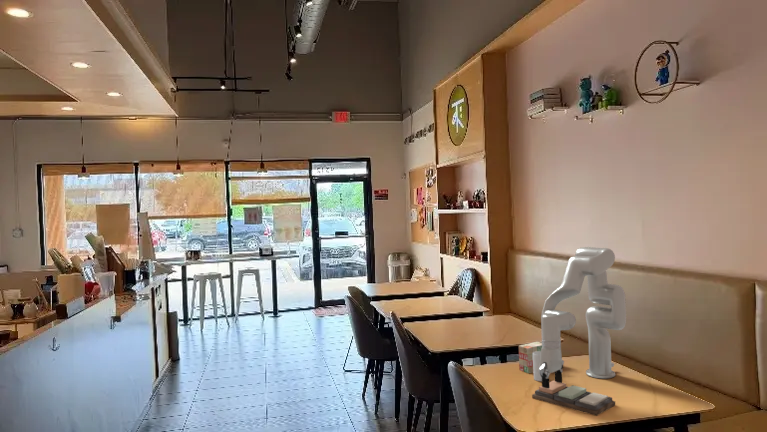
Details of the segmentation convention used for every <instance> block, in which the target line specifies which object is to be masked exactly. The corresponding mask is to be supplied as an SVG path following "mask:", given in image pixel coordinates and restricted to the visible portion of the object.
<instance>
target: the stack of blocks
mask: <svg viewBox="0 0 767 432" xmlns="http://www.w3.org/2000/svg"><path fill="white" fill-rule="evenodd" d="M541 348H542V341H541V342H539V341H535V342H534V341H533V342H531V343H530V342H529V343H525V344H521V345H518V362H519V365H518V367H519V371H520V372H523V373H526V374H531V373H532V374H533V352H536V351H541Z"/></svg>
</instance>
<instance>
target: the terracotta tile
mask: <svg viewBox="0 0 767 432" xmlns="http://www.w3.org/2000/svg"><path fill="white" fill-rule="evenodd" d="M549 386H550V388H544V387H542V385H541V386H539V387H538V389H539V391H542V392H545V393H549V394H554V393H556V392H558V391H560V390H562V389H564V388H566V386H567V383H566V382H565V383H564V382H562V383H560V382H555V380H552V381H549Z"/></svg>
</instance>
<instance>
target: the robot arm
mask: <svg viewBox="0 0 767 432" xmlns="http://www.w3.org/2000/svg"><path fill="white" fill-rule="evenodd" d="M574 253H575V255H573V256H571V257H570V258H569V259H568V260H567V262H566V267H565V269H564V271H563V272H564V273H563V277H562V279H561V283H560V285H559V287H557V288H556V289H555V290H553V292H552V293H550V294H549V296H548V297H547V298H546V299H545V301H544V304H543V308H542V310H541V315H540V319H541V320H540V321H541V323H540V325H541V343H542V348H541V355H540V368H539V372H540V375H541V378H542V381H541V386H542V387H544V388H550V386H549V382H550V378H549V377H550V375H551V374H552V373H554V381H555V382H560V383H563V369H564V364H565V361H564V360H563V359H562V358H563V357H562V343H561V342H562V341H561V340H562V339H561V338H562V337H561V332H562V331H568V330H571V329H573V328H574V327H575V325H576V323H577V319H576V316H575V315H574V314H573V313H572V312H569V311H565V310H559V309H556V307H557V306H558V305H559V303H561V302H563V301H564V300H567V299H569V298H572V297H574V296H575V297H576V296H578V295H579V294H580V293H581V290H582V287H583V283H584V279H585V277H586V279H587V294H588V296H587V297H588V300H589V301H590V303H593V304H599V305H605V306H599V305H593V306H589V307H588V308H587V309H586V311H585V321H586V322H585V323H586V325H587V332H588V337H587V338H588V359H589V362H588V363H589V364H588V365H589V367H588V369H586V370H585V373H586V375H587V376H589V377H591V378H595V379H611V378H614V377H616V372H615V371H614V370H612V368H613V367H614V366H615V363H614V362H612V346H611V344H612V343H611V340H612V339H611V335H610V332H609V330H615V331H621V330H623V329H624V328H625V327H626V324H627V308H626V307H627V306H626V305H627V304H626V293H625V290H624V288H623V287H622V286H621V285H618V284H612V283H609V282H608V276H607V275H608V273H607V270H609V269H610V268H611V267H612V266H613V265H614V263H615V259H616V255H615V252H614V251H613V250H612V249H611V248H607V247H591V246H590V247H589V246H587V247H586V246H585V247H579V248H577V249H576V251H575V252H574ZM608 306H610V307H608ZM546 370H548V371H546ZM545 373H547V375H546V374H545Z"/></svg>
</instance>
